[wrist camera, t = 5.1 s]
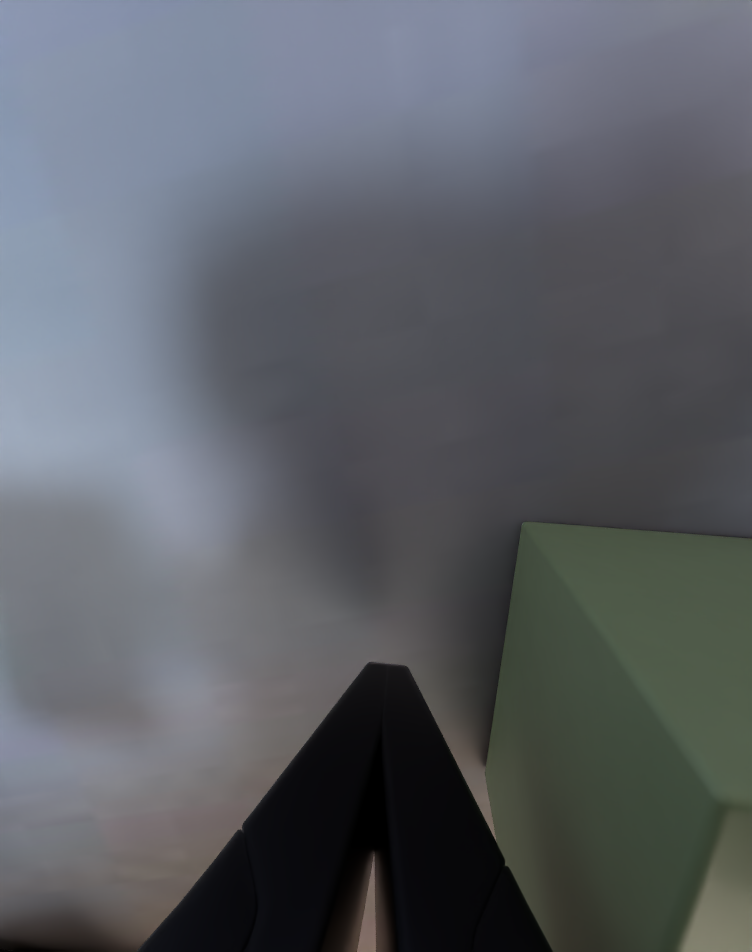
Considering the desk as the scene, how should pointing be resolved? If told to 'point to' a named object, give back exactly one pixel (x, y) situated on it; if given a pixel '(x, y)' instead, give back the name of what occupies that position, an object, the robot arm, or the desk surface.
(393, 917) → the robot arm
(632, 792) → the block
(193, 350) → the desk surface
